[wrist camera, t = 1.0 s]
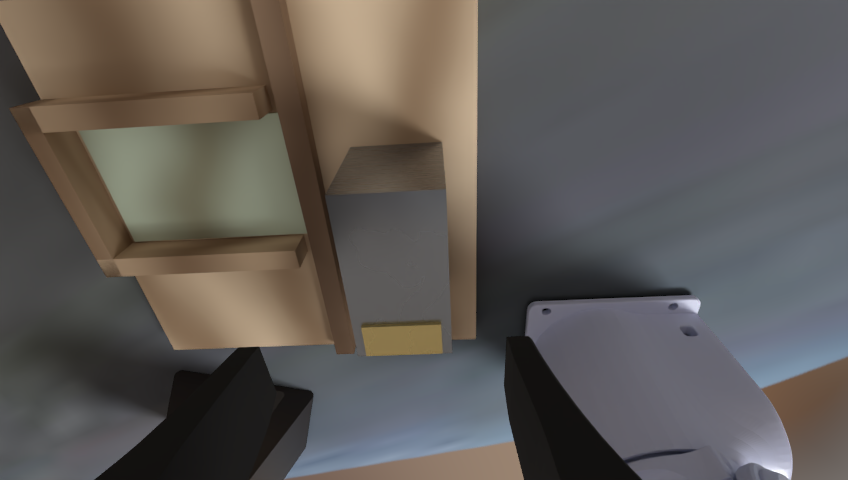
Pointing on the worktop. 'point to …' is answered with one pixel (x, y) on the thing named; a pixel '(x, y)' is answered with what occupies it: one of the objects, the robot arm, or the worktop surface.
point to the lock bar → (394, 247)
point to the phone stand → (283, 430)
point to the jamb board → (243, 146)
